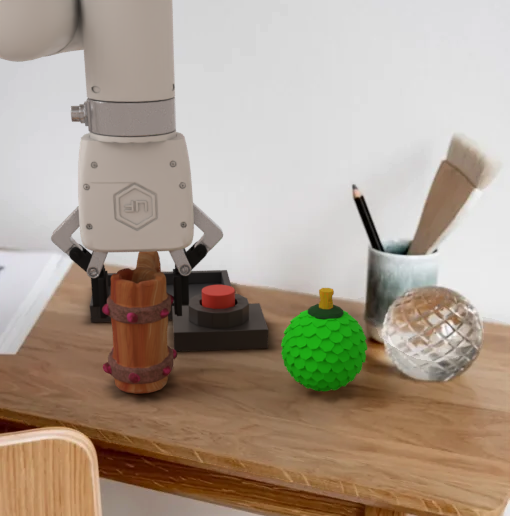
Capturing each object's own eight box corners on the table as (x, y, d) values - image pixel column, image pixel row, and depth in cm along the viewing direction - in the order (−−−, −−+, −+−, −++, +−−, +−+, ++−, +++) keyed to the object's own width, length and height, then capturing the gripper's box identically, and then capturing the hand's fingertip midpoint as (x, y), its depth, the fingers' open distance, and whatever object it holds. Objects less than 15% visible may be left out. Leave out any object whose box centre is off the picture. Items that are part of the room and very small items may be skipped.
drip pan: (90, 322, 96) (89, 305, 96) (96, 289, 107) (95, 273, 106) (235, 317, 98) (235, 301, 97) (227, 285, 109) (227, 269, 108)
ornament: (351, 413, 77) (357, 310, 73) (268, 398, 79) (269, 298, 75) (373, 378, 84) (380, 282, 79) (295, 365, 86) (298, 271, 82)
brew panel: (174, 351, 89) (173, 316, 87) (172, 323, 96) (171, 290, 95) (268, 348, 90) (268, 313, 88) (259, 321, 97) (259, 288, 96)
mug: (168, 405, 78) (166, 282, 73) (98, 401, 78) (92, 278, 73) (186, 355, 88) (186, 244, 84) (125, 351, 89) (121, 241, 84)
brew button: (202, 311, 90) (202, 296, 89) (201, 299, 93) (200, 284, 92) (236, 310, 90) (236, 294, 90) (233, 298, 94) (233, 283, 93)
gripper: (24, 127, 69) (45, 330, 76) (235, 125, 71) (235, 324, 78) (36, 113, 76) (53, 301, 83) (228, 112, 77) (228, 296, 85)
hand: (141, 310), depth 80 cm, fingers closed on mug, 6 cm apart
